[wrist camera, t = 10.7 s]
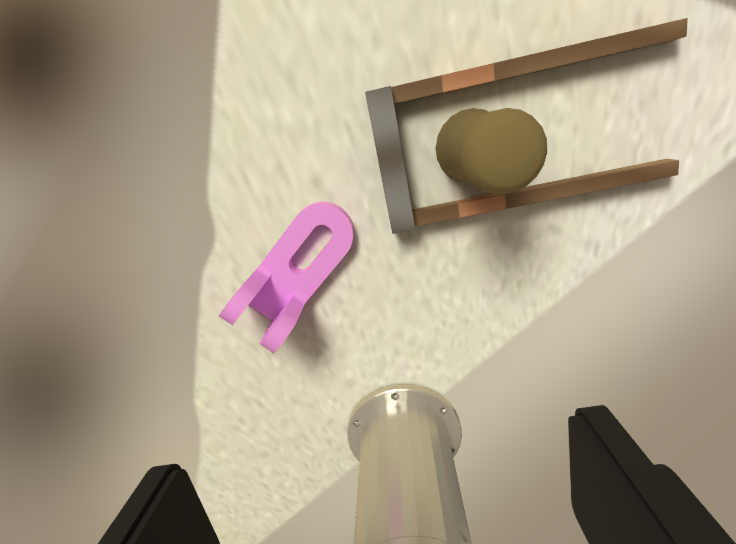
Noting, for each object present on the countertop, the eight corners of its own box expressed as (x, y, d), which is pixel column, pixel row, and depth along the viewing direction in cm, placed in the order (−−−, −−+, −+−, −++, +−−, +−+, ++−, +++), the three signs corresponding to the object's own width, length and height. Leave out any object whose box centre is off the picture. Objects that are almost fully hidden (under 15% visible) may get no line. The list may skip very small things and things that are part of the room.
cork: (520, 152, 33) (582, 163, 23) (461, 196, 35) (494, 224, 25) (482, 92, 32) (529, 74, 22) (421, 140, 33) (439, 145, 23)
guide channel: (665, 172, 34) (687, 176, 31) (391, 226, 36) (392, 233, 34) (673, 23, 30) (697, 14, 27) (366, 94, 32) (365, 91, 30)
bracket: (286, 322, 40) (268, 360, 33) (241, 290, 39) (212, 323, 32) (365, 227, 36) (362, 248, 30) (318, 188, 35) (303, 202, 29)
